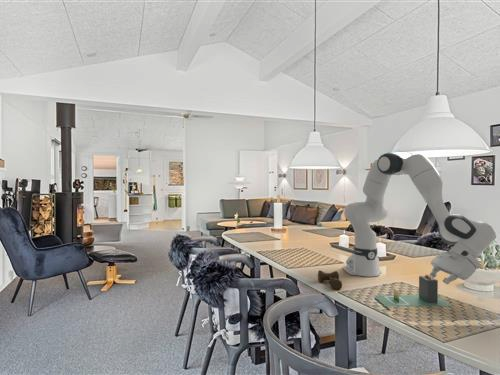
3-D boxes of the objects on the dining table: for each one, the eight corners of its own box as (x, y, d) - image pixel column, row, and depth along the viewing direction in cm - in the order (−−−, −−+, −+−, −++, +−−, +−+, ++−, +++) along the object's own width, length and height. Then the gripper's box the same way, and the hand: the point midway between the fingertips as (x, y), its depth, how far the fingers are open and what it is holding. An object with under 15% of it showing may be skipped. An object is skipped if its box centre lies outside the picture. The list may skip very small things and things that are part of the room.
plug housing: (418, 297, 142) (419, 273, 142) (428, 297, 142) (428, 273, 142) (427, 303, 135) (427, 277, 135) (437, 302, 136) (437, 277, 135)
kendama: (326, 291, 156) (315, 278, 176) (347, 292, 157) (333, 278, 177) (327, 278, 156) (315, 267, 176) (347, 279, 157) (334, 267, 177)
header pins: (393, 298, 140) (393, 289, 140) (395, 298, 140) (395, 289, 140) (397, 301, 137) (397, 292, 137) (399, 301, 137) (399, 291, 137)
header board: (374, 298, 145) (374, 295, 145) (434, 298, 145) (434, 294, 145) (387, 310, 132) (387, 306, 132) (453, 309, 132) (453, 305, 132)
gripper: (441, 245, 149) (419, 267, 149) (473, 255, 129) (447, 281, 129) (451, 255, 150) (429, 278, 149) (484, 266, 129) (459, 292, 129)
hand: (437, 279), depth 139 cm, fingers open, 8 cm apart
